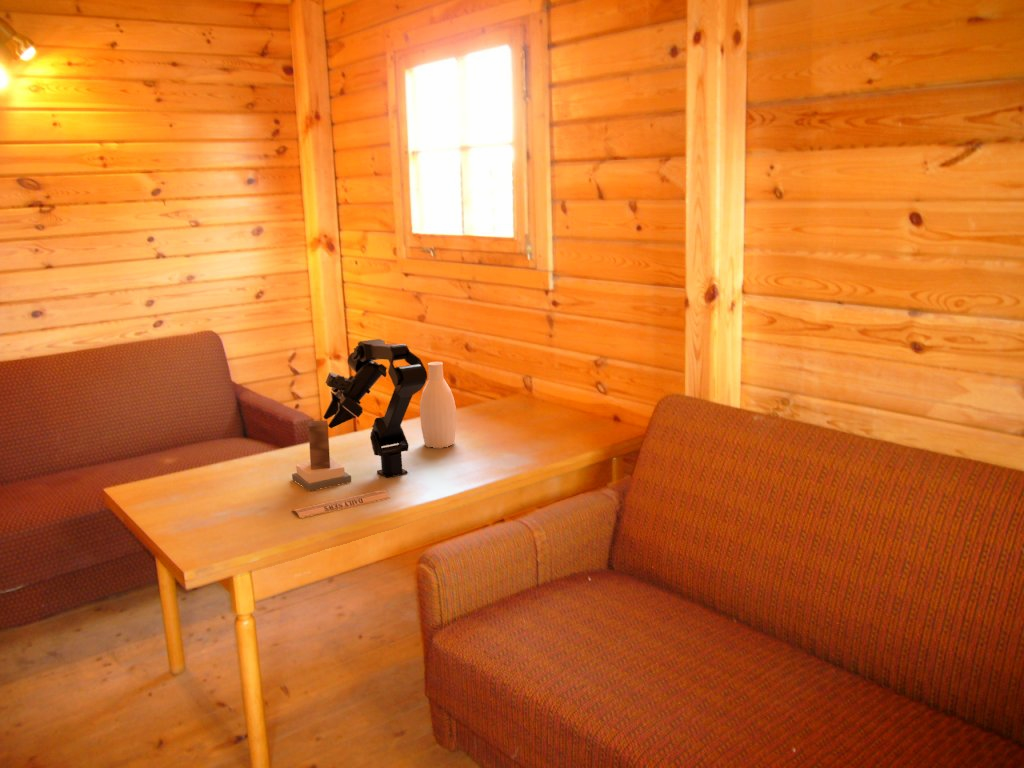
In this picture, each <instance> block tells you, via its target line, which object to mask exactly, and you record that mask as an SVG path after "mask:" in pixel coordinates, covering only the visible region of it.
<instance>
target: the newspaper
mask: <svg viewBox="0 0 1024 768" xmlns="http://www.w3.org/2000/svg"><path fill="white" fill-rule="evenodd" d="M387 498H389V499H391V498H390V495H389V494H388V493H387V492H386V491H385V490H382V489H381V490H376V491H371V492H367V493H363V494H358V495H355V496H354V495H353V496H350V497H345V498H339V499H336V500H331V501H330V500H329V501H326V502H322V503H318V504H314V505H309V506H305V507H300V508H295V509H292V510H291V512H292V511H296V512H295V513H296V514H297V516H298V517H299V519H300V518H301V519H303V518H302V517H306V518H308V517H307V516H310V517H312V516H311V515H314V516H317V515H316V514H319V515H321V514H320V513H323V514H327V513H326V512H328V513H330V512H329V511H332V512H335V511H334V510H336V511H339V510H338V509H341V510H344V509H343V508H345V509H348V507H350V508H353V506H354V507H357V506H356V505H358V506H362V504H363V505H367V504H371V502H372V503H375V502H374V501H376V502H379V501H378V500H380V501H384V500H383V499H385V500H388V499H387ZM366 503H367V504H366Z"/></svg>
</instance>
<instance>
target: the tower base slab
mask: <svg viewBox="0 0 1024 768" xmlns="http://www.w3.org/2000/svg"><path fill="white" fill-rule="evenodd" d="M344 472H345V476H342V477H337V478H332V479H328V480H323V481H318V482H313V483H308V482H307V481H306V480H304V479H303V478H302V477H301V476H299V475H298V474H297V472H295V473H291V479H293V480H294V481H293V480H292V481H293V482H295V481H296V482H297V483H299V484H300V485H302V486H303V487H304V489H305V488H306V489H307V490H306V489H305V490H306V491H308V490H309V491H310V492H313V491H312V490H315V491H317V490H316V489H319V490H321V489H320V488H323V489H326V488H325V487H327V488H330V487H329V486H332V487H335V486H334V485H336V486H339V485H338V484H340V485H343V484H342V483H344V484H348V483H347V482H349V483H352V475H350V474H349V473H347V472H346V471H344ZM296 482H295V483H296ZM297 483H296V484H297ZM299 484H298V485H299ZM300 485H299V486H300ZM302 486H301V487H302ZM303 487H302V488H303ZM309 491H308V492H309Z"/></svg>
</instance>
